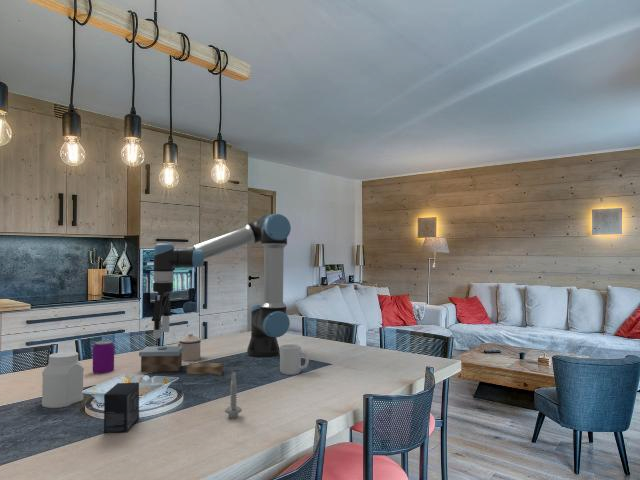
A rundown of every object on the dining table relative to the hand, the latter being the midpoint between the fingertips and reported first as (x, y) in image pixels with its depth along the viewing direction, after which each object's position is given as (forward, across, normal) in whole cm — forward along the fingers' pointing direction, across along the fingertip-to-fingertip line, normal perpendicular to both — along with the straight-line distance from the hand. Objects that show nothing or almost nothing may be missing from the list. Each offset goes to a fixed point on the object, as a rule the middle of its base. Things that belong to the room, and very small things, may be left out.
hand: (161, 334), depth 185 cm
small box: (+15, +58, +4) cm, 60 cm away
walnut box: (+14, 0, 0) cm, 14 cm away
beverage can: (+15, +1, -22) cm, 26 cm away
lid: (+7, 0, 0) cm, 7 cm away
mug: (+14, +7, +54) cm, 56 cm away
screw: (+14, +54, +34) cm, 65 cm away
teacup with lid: (+14, -18, +8) cm, 24 cm away
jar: (+15, +36, -22) cm, 45 cm away
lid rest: (+14, +6, +18) cm, 24 cm away
